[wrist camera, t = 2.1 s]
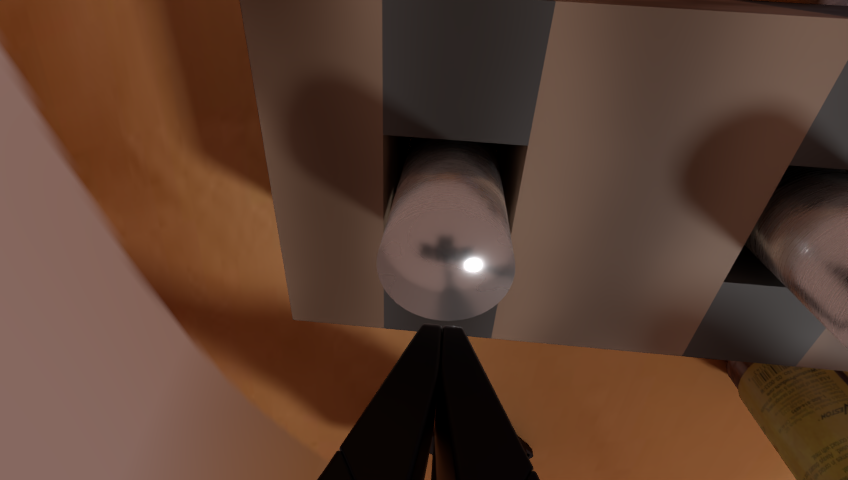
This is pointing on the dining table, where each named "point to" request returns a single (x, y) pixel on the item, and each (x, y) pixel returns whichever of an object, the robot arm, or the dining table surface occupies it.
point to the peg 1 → (447, 232)
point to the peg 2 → (809, 241)
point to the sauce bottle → (799, 415)
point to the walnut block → (561, 157)
